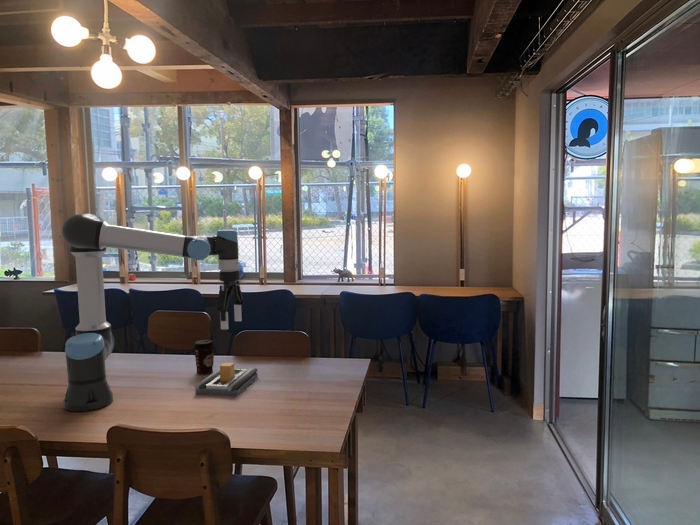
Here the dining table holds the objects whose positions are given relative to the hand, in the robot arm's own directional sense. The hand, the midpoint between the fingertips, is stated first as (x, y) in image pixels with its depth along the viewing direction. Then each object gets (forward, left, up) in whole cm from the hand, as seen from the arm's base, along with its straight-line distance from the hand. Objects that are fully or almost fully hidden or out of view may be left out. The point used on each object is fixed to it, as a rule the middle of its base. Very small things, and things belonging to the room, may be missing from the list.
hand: (231, 325), depth 205 cm
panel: (-8, -1, -21) cm, 22 cm away
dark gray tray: (-8, -1, -19) cm, 21 cm away
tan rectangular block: (-8, -1, -19) cm, 21 cm away
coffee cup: (+4, +14, -21) cm, 26 cm away
